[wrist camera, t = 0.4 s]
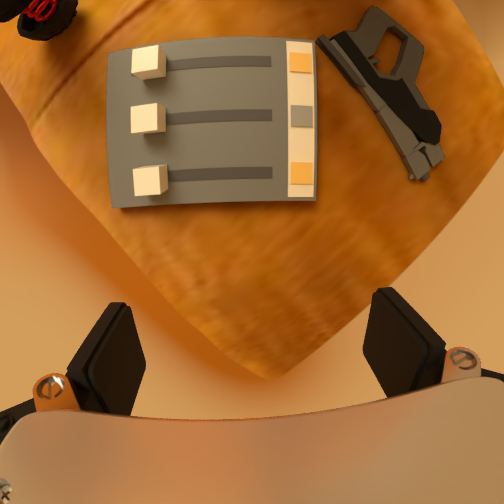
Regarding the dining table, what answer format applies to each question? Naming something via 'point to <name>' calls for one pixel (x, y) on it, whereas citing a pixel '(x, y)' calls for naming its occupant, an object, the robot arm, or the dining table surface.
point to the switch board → (218, 122)
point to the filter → (39, 16)
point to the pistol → (390, 88)
